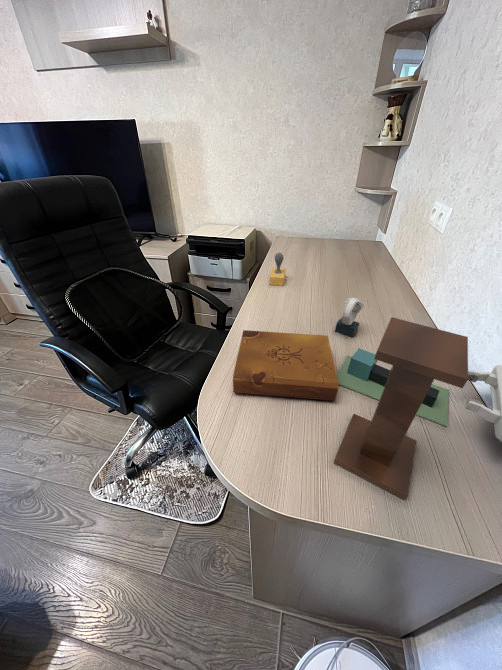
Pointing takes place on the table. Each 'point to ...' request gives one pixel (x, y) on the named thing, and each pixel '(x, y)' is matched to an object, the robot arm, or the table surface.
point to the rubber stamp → (278, 271)
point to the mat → (375, 390)
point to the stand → (401, 402)
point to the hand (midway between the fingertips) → (467, 387)
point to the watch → (349, 318)
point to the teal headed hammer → (379, 373)
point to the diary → (285, 365)
